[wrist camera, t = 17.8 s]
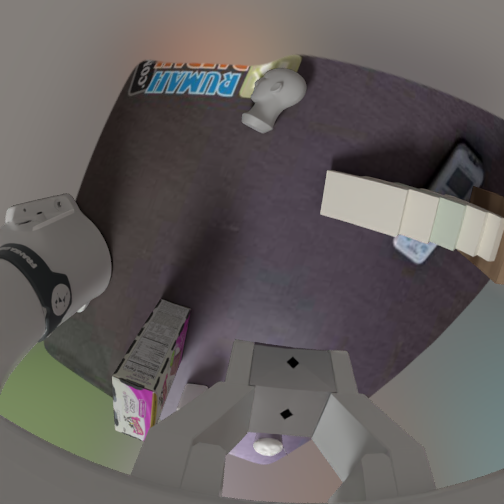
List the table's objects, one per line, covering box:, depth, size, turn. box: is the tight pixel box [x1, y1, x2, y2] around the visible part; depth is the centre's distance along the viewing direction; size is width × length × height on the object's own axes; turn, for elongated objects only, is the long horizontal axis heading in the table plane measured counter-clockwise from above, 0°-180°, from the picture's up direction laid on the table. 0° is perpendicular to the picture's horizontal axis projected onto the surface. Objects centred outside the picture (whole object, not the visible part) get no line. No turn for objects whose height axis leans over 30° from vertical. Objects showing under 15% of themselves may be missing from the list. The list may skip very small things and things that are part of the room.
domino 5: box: [445, 194, 504, 262], centre depth 30 cm, size 2×5×9 cm, turn 174°
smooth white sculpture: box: [242, 68, 307, 133], centre depth 30 cm, size 4×8×5 cm
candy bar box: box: [112, 299, 191, 441], centre depth 36 cm, size 11×5×16 cm, turn 165°
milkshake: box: [253, 433, 287, 456], centre depth 44 cm, size 4×5×10 cm
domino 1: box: [320, 170, 409, 237], centre depth 32 cm, size 2×5×9 cm
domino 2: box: [362, 176, 441, 244], centre depth 31 cm, size 2×5×9 cm
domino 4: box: [420, 188, 489, 257], centre depth 30 cm, size 2×5×9 cm
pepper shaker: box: [177, 383, 208, 410], centre depth 44 cm, size 4×4×10 cm
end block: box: [457, 186, 504, 284], centre depth 29 cm, size 4×9×10 cm, turn 174°
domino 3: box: [393, 182, 467, 251], centre depth 31 cm, size 2×5×9 cm
